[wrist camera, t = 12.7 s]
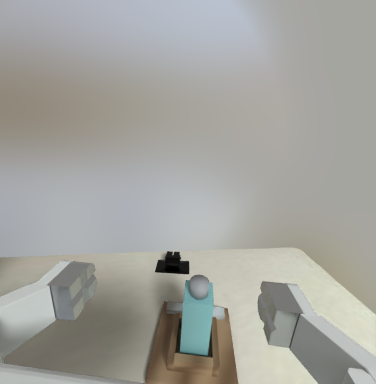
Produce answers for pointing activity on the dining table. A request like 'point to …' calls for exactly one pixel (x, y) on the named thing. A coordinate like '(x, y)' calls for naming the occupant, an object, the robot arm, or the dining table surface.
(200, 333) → the teal bottle
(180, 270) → the black block on base
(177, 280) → the dining table surface
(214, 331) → the jig
